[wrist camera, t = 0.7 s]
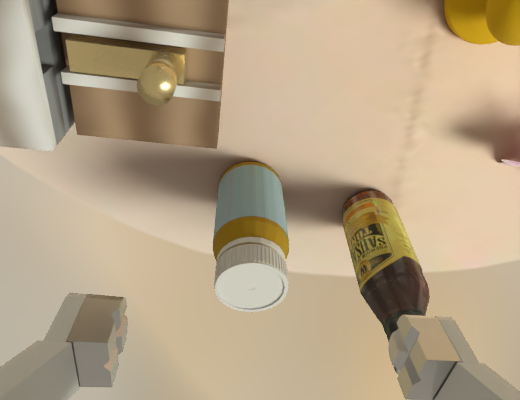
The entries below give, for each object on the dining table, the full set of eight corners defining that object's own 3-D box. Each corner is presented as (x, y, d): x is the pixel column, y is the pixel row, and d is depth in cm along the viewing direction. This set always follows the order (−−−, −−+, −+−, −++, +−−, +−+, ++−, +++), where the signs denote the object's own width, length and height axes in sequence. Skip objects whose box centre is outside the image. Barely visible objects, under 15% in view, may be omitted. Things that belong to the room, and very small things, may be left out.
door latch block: (232, -47, 32) (229, -37, 27) (218, 134, 41) (214, 166, 36) (-38, -88, 30) (-96, -85, 25) (13, 112, 39) (-22, 144, 34)
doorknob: (458, -64, 31) (559, -66, 32) (433, 42, 36) (520, 40, 36) (507, -55, 25) (632, -58, 26) (469, 70, 30) (574, 67, 30)
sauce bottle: (358, 180, 45) (418, 333, 29) (403, 198, 47) (483, 351, 31) (328, 221, 49) (368, 377, 33) (371, 236, 50) (428, 392, 34)
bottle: (206, 181, 45) (191, 285, 33) (255, 146, 42) (258, 245, 30) (245, 218, 48) (245, 325, 36) (293, 188, 46) (310, 292, 34)
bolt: (187, 47, 33) (176, 72, 28) (186, 78, 34) (176, 107, 29) (72, 33, 32) (41, 57, 27) (77, 65, 33) (48, 93, 29)
